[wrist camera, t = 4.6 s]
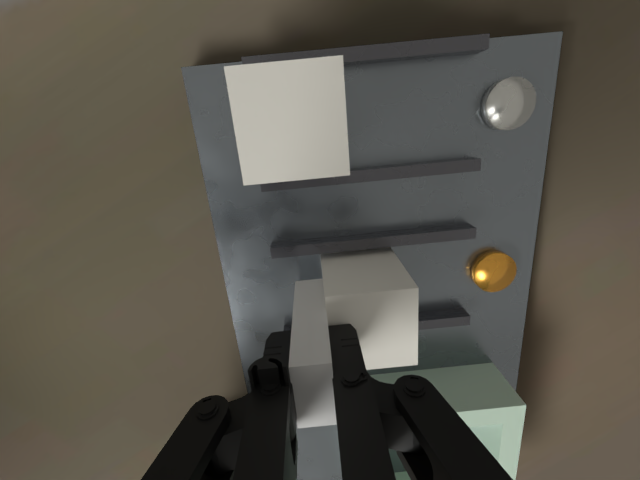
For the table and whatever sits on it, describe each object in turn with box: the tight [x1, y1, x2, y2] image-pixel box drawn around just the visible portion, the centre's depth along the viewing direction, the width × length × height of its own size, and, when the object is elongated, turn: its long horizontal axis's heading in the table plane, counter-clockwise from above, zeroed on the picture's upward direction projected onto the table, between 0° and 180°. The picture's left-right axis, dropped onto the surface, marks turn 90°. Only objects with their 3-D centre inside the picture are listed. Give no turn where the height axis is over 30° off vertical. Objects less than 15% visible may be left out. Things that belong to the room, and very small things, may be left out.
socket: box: [370, 363, 526, 480], centre depth 22 cm, size 10×10×4 cm
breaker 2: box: [320, 247, 419, 370], centre depth 17 cm, size 4×4×5 cm
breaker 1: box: [224, 55, 350, 186], centre depth 14 cm, size 4×4×5 cm
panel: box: [181, 31, 563, 480], centre depth 21 cm, size 18×32×2 cm, turn 5°
